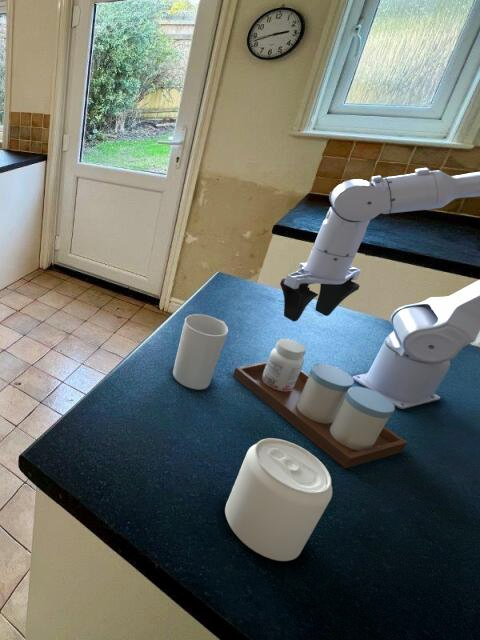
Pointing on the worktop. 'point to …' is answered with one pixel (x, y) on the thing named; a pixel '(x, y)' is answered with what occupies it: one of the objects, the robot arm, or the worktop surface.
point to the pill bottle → (284, 365)
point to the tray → (313, 430)
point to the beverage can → (278, 498)
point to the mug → (199, 350)
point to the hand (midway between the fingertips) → (306, 315)
